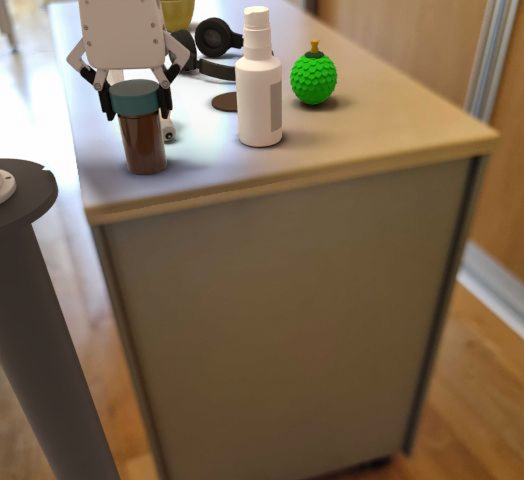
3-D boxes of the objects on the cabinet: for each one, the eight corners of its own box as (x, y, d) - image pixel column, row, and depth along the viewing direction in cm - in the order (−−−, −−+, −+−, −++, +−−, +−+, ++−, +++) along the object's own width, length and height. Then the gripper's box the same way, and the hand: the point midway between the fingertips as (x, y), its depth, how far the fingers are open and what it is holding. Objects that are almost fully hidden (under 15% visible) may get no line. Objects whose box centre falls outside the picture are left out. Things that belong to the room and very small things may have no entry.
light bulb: (184, 111, 86) (155, 71, 91) (145, 127, 85) (118, 86, 90) (192, 144, 92) (165, 105, 97) (155, 160, 91) (129, 120, 96)
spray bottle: (290, 141, 89) (290, 10, 76) (251, 151, 86) (246, 18, 74) (268, 126, 93) (265, 0, 81) (231, 136, 91) (222, 7, 78)
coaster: (225, 116, 97) (225, 113, 97) (203, 100, 103) (202, 98, 102) (271, 105, 100) (271, 102, 100) (246, 90, 106) (246, 88, 106)
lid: (102, 107, 78) (98, 88, 76) (141, 93, 81) (138, 75, 80) (131, 120, 74) (128, 100, 73) (172, 105, 78) (169, 86, 76)
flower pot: (171, 38, 133) (166, 3, 128) (148, 29, 139) (143, -4, 134) (206, 29, 137) (203, -5, 132) (183, 21, 143) (179, -12, 138)
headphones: (209, 9, 119) (290, 38, 113) (208, 47, 124) (285, 76, 118) (156, 29, 109) (242, 61, 103) (158, 69, 114) (239, 102, 108)
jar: (136, 178, 81) (122, 105, 74) (122, 163, 85) (107, 92, 78) (173, 168, 83) (163, 96, 76) (158, 154, 87) (147, 84, 80)
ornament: (292, 94, 104) (293, 33, 97) (337, 95, 102) (341, 34, 96) (287, 111, 98) (287, 47, 91) (334, 112, 97) (337, 48, 90)
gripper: (188, -45, 69) (203, 104, 82) (47, -40, 69) (82, 108, 82) (183, -34, 64) (199, 125, 76) (29, -28, 64) (70, 129, 76)
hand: (138, 115), depth 79 cm, fingers closed on lid, 6 cm apart
